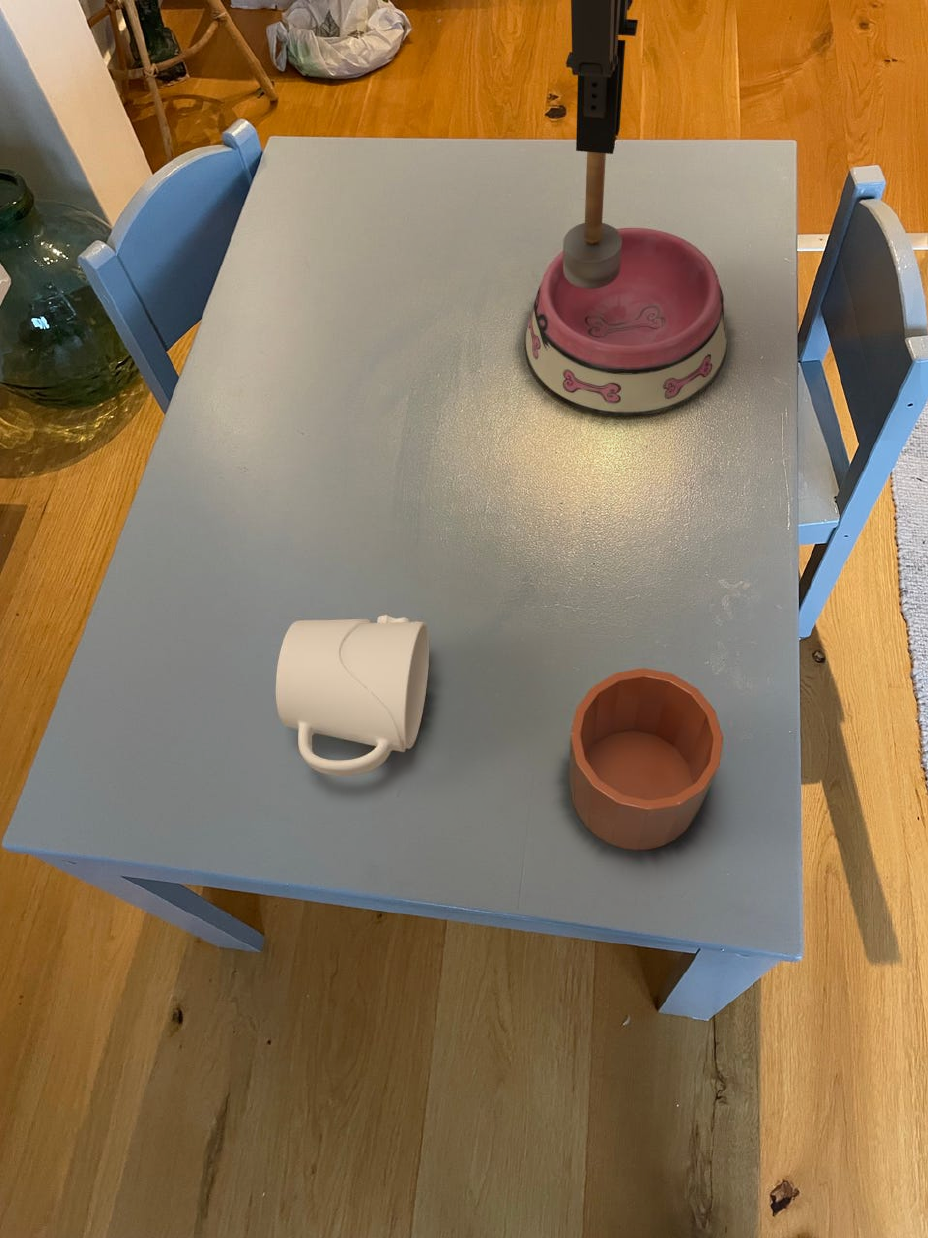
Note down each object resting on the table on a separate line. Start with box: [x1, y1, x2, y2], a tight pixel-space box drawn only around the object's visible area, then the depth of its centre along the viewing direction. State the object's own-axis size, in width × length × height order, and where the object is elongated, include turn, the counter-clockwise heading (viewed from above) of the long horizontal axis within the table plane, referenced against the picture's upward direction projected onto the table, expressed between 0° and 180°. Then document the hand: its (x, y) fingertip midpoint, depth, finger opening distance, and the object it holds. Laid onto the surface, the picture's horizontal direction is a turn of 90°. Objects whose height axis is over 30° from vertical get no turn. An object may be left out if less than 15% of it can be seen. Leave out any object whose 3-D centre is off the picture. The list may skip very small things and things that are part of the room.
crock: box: [568, 667, 724, 851], centre depth 62 cm, size 9×9×10 cm
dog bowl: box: [523, 227, 728, 418], centre depth 83 cm, size 18×19×7 cm
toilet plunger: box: [562, 152, 622, 289], centre depth 70 cm, size 5×5×21 cm
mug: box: [275, 614, 430, 777], centre depth 68 cm, size 12×9×8 cm
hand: (597, 139), depth 68 cm, fingers closed on toilet plunger
